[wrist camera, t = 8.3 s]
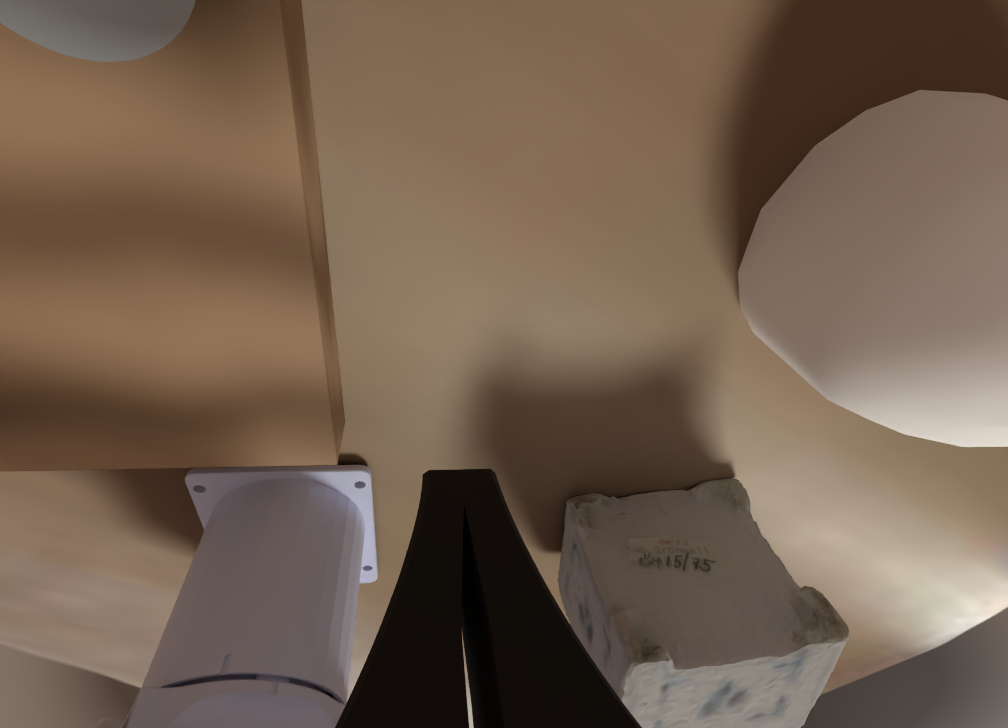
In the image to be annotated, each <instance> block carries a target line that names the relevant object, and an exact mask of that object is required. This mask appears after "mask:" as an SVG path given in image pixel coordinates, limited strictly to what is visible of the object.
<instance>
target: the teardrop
mask: <svg viewBox="0 0 1008 728" xmlns="http://www.w3.org/2000/svg"><path fill="white" fill-rule="evenodd" d="M738 285H739V303H740V309H741V311H742V312H743V314H744V316H745V318H746V320H747V322H748V323H749V325H750V327H751V329H752V331H753V333H754V334H755V335H756V336H757V337H758V338H760V339H761V340H762V341H763V342H764V343H765V344H766V345H767V346H768V347H770V348H771V349H772V350H773V351H774V352H775V353H776V354H777V355H778V356H780V357H781V358H782V359H783V360H784V361H785V362H786V363H787V364H788V365H790V366H791V367H792V368H793V369H794V370H795V371H796V372H797V373H798V374H800V375H801V376H802V377H803V378H804V379H805V380H806V381H807V382H808V383H810V384H811V385H812V386H813V387H814V388H815V389H816V390H817V391H818V392H820V393H821V394H822V395H823V396H824V397H825V398H826V399H827V400H829V401H831V402H833V403H835V404H837V405H839V406H841V407H844V408H846V409H848V410H850V411H852V412H854V413H856V414H858V415H860V416H862V417H865V418H867V419H869V420H871V421H874V422H876V423H878V424H881V425H883V426H886V427H888V428H890V429H893V430H895V431H898V432H900V433H902V434H906V435H910V436H915V437H919V438H924V439H929V440H933V441H938V442H943V443H947V444H952V445H956V446H961V447H1008V100H1005V99H1002V98H998V97H995V96H992V95H989V94H985V93H967V92H948V91H928V90H918V91H916V92H913V93H910V94H908V95H905V96H902V97H900V98H897V99H894V100H892V101H889V102H886V103H884V104H881V105H879V106H876V107H873V108H871V109H868V110H865V111H864V112H863V113H861V114H860V115H858V116H857V117H855V118H854V119H852V120H851V121H850V122H848V123H847V124H845V125H844V126H842V127H841V128H839V129H838V130H837V131H835V132H834V133H832V134H831V135H829V136H828V137H826V138H825V139H824V140H822V141H821V142H819V143H818V144H816V145H815V146H814V147H813V148H812V150H811V151H810V152H809V153H808V154H807V155H806V157H805V158H804V159H803V160H802V161H801V163H800V164H799V165H798V166H797V167H796V168H795V170H794V171H793V172H792V173H791V174H790V176H789V177H788V178H787V179H786V180H785V182H784V183H783V184H782V185H781V186H780V187H779V189H778V190H777V191H776V192H775V193H774V195H773V196H772V197H771V198H770V199H769V200H768V202H767V203H766V204H765V205H764V206H763V208H762V209H761V210H760V213H759V216H758V219H757V221H756V224H755V227H754V229H753V232H752V235H751V238H750V240H749V243H748V246H747V248H746V251H745V254H744V257H743V259H742V262H741V265H740V267H739V270H738Z"/></svg>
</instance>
